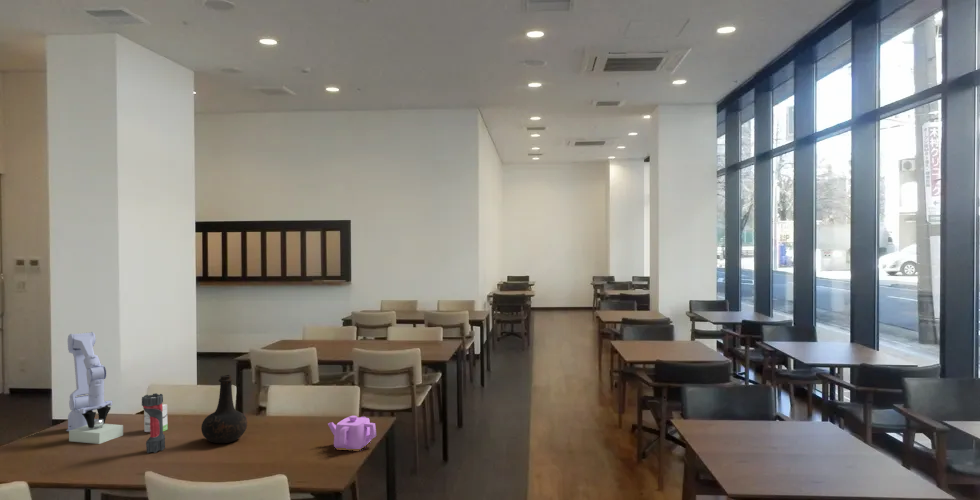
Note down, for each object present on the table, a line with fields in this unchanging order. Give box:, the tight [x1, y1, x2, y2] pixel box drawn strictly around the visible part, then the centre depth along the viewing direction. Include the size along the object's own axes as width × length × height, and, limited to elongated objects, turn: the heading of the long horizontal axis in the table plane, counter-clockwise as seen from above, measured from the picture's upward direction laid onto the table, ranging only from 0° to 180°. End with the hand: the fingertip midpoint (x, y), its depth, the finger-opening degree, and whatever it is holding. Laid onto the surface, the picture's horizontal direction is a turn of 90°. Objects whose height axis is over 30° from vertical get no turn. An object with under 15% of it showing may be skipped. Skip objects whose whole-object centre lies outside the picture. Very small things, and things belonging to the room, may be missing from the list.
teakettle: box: [327, 415, 377, 449], centre depth 249 cm, size 17×17×12 cm
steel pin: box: [93, 417, 105, 429], centre depth 260 cm, size 5×5×6 cm
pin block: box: [68, 423, 124, 445], centre depth 260 cm, size 16×12×4 cm
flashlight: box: [141, 393, 166, 454], centre depth 243 cm, size 8×8×23 cm
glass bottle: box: [201, 374, 248, 444], centre depth 257 cm, size 18×18×28 cm
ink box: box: [143, 403, 169, 433], centre depth 271 cm, size 9×5×12 cm, turn 79°
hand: (96, 425), depth 260 cm, fingers closed on steel pin, 5 cm apart
